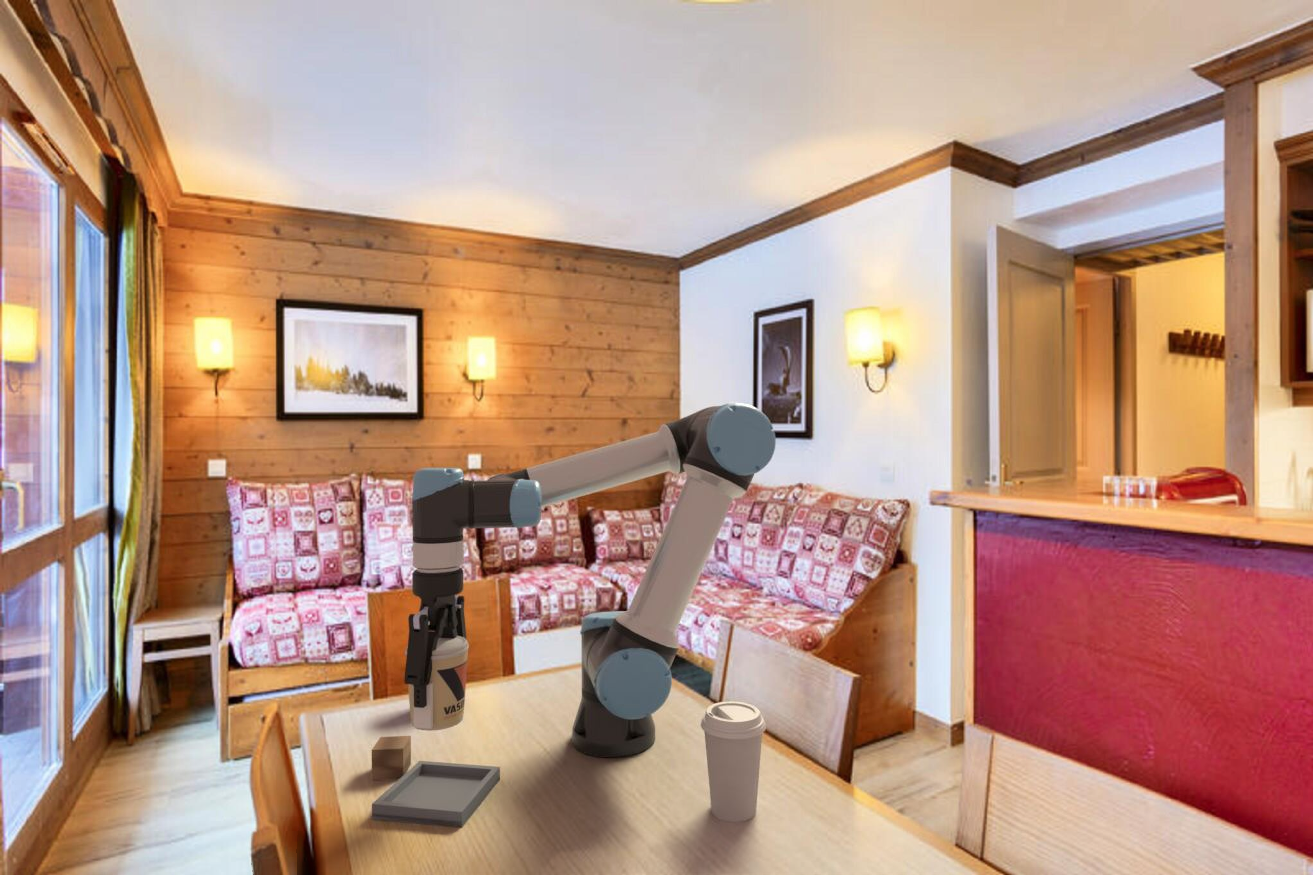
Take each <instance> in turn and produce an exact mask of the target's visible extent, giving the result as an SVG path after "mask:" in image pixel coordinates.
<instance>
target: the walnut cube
mask: <svg viewBox="0 0 1313 875" xmlns="http://www.w3.org/2000/svg"><path fill="white" fill-rule="evenodd" d="M411 739H412V735H397V736H396V735H395V736H380V737H379V739H378V740H377V741H376V743H375V744H374V746H373V747H372V749H371V781H378V780H379V781H380V780H381V781H382V780H383V781H384V780H399V779H400V778H401V777H402V776H403V775H404V774H406V773H407V772H408V771H409V770H410V766H411V765H412V742H411V741H412V740H411Z"/></svg>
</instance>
